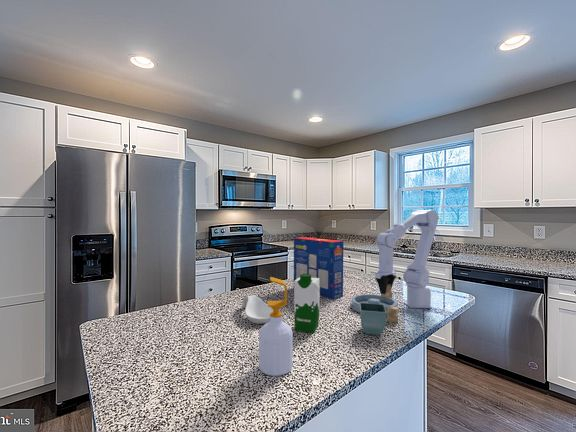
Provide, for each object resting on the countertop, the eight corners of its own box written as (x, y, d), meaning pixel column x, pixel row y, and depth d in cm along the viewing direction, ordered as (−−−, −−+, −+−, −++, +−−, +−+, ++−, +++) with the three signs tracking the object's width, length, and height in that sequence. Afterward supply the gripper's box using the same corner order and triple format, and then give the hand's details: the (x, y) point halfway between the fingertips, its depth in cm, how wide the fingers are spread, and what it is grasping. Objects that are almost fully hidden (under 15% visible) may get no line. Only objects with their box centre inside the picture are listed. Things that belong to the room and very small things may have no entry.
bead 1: (383, 294, 129) (383, 283, 129) (392, 296, 126) (392, 284, 126) (379, 296, 126) (379, 284, 126) (388, 298, 123) (388, 286, 123)
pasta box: (343, 296, 147) (343, 241, 147) (332, 299, 142) (333, 242, 141) (303, 285, 168) (304, 237, 168) (293, 288, 163) (293, 237, 162)
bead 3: (396, 318, 117) (396, 306, 117) (399, 322, 113) (399, 310, 113) (385, 318, 117) (385, 306, 117) (388, 322, 113) (388, 309, 113)
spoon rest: (280, 324, 111) (280, 305, 111) (250, 329, 106) (250, 310, 106) (258, 306, 133) (258, 290, 133) (233, 309, 127) (233, 293, 127)
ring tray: (389, 301, 140) (389, 293, 140) (405, 316, 120) (405, 307, 120) (347, 300, 140) (347, 293, 140) (356, 315, 120) (356, 307, 120)
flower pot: (386, 338, 99) (387, 312, 99) (359, 336, 101) (360, 310, 100) (383, 328, 107) (383, 304, 107) (359, 326, 109) (359, 302, 109)
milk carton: (291, 331, 104) (291, 275, 104) (299, 322, 113) (299, 270, 113) (315, 334, 101) (316, 277, 101) (321, 325, 110) (321, 272, 110)
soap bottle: (259, 359, 84) (259, 274, 84) (290, 358, 85) (291, 274, 85) (258, 377, 75) (259, 282, 75) (294, 376, 76) (294, 281, 76)
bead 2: (390, 300, 141) (390, 290, 141) (393, 303, 137) (393, 292, 137) (382, 300, 141) (382, 290, 141) (384, 303, 137) (384, 292, 137)
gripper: (386, 264, 118) (386, 297, 118) (402, 260, 128) (402, 291, 128) (370, 262, 123) (370, 294, 123) (387, 258, 133) (386, 288, 133)
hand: (385, 292), depth 126 cm, fingers closed on bead 1, 4 cm apart
